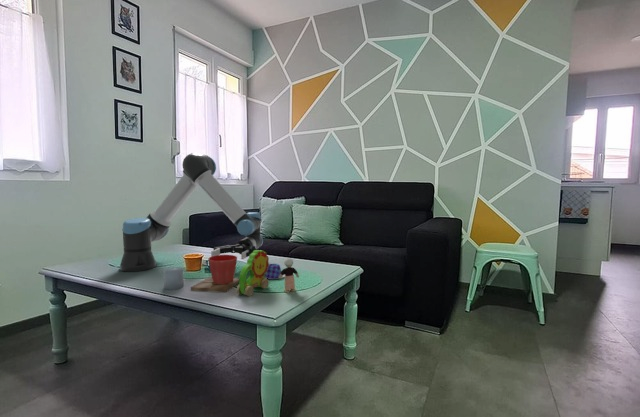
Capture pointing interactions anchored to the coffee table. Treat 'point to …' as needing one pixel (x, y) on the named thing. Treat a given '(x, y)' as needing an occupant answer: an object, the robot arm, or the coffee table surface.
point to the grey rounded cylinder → (173, 278)
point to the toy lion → (254, 273)
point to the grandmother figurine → (289, 275)
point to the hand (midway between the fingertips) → (227, 255)
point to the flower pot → (222, 268)
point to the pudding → (273, 271)
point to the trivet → (214, 285)
